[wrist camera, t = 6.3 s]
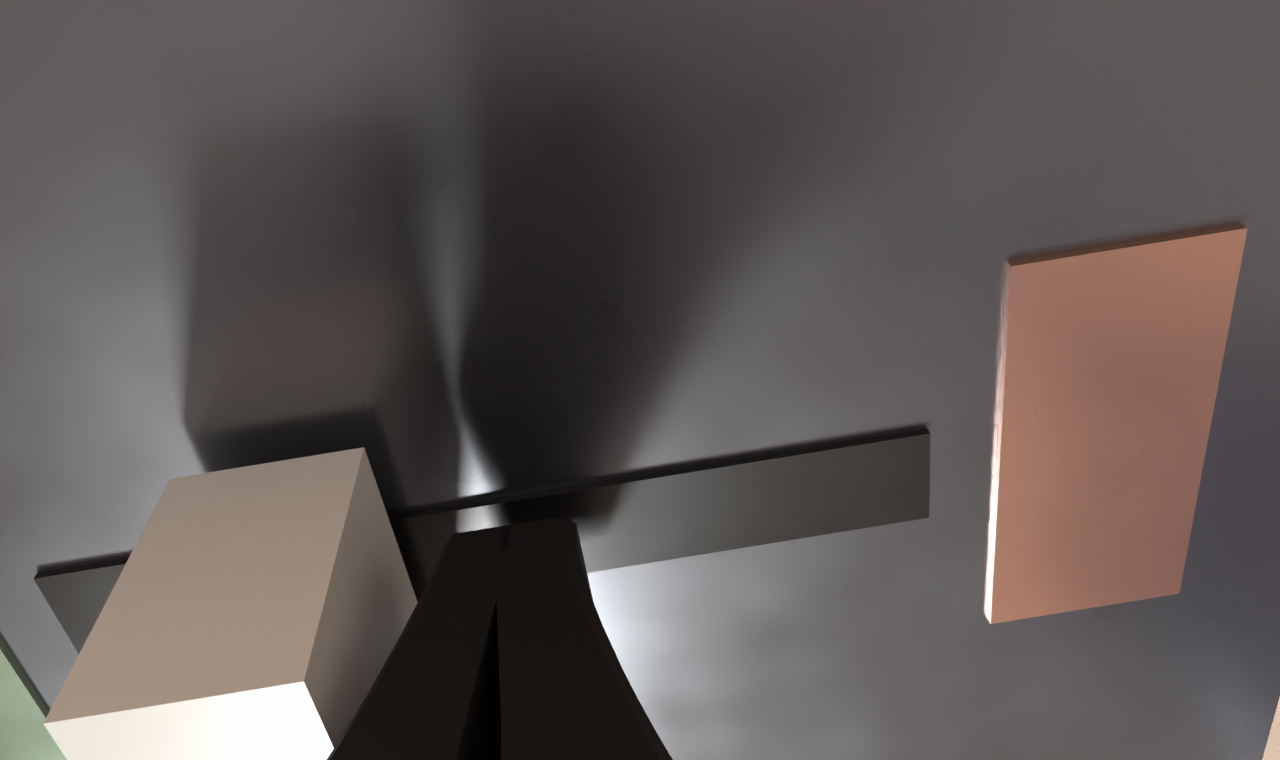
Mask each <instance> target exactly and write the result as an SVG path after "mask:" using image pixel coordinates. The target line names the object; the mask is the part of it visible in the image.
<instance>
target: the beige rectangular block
mask: <svg viewBox="0 0 1280 760" xmlns="http://www.w3.org/2000/svg"><path fill="white" fill-rule="evenodd" d="M417 603H418V602H417V599H416V596H415V594H414V591H413V588H412V585H411V582H410V579H409V576H408V573H407V570H406V567H405V565H404V562H403V559H402V556H401V553H400V550H399V547H398V544H397V541H396V538H395V535H394V533H393V530H392V527H391V524H390V521H389V518H388V515H387V512H386V509H385V506H384V504H383V501H382V498H381V495H380V492H379V489H378V486H377V483H376V480H375V477H374V475H373V472H372V469H371V466H370V463H369V460H368V457H367V454H366V451H365V448H364V447H363V448H357V449H350V450H344V451H338V452H332V453H326V454H320V455H313V456H307V457H301V458H295V459H289V460H283V461H276V462H270V463H264V464H258V465H252V466H246V467H239V468H233V469H227V470H221V471H215V472H209V473H202V474H196V475H190V476H184V477H178V478H172V479H169V481H168V483H167V485H166V487H165V489H164V491H163V493H162V495H161V497H160V498H159V500H158V502H157V504H156V506H155V508H154V510H153V512H152V514H151V516H150V518H149V520H148V522H147V524H146V526H145V528H144V529H143V531H142V533H141V535H140V537H139V539H138V541H137V543H136V545H135V547H134V549H133V551H132V553H131V555H130V557H129V559H128V560H127V562H126V564H125V566H124V568H123V570H122V572H121V574H120V576H119V578H118V580H117V582H116V584H115V586H114V588H113V590H112V591H111V593H110V595H109V597H108V599H107V601H106V603H105V605H104V607H103V609H102V611H101V613H100V615H99V617H98V619H97V621H96V622H95V624H94V626H93V628H92V630H91V632H90V634H89V636H88V638H87V640H86V642H85V644H84V646H83V648H82V650H81V652H80V653H79V655H78V657H77V659H76V661H75V663H74V665H73V667H72V669H71V671H70V673H69V675H68V677H67V679H66V681H65V683H64V684H63V686H62V688H61V690H60V692H59V694H58V696H57V698H56V700H55V702H54V704H53V706H52V708H51V710H50V712H49V714H48V715H47V717H46V719H45V721H44V723H43V724H44V726H45V727H46V729H47V730H48V732H49V733H50V735H51V736H52V738H53V739H54V741H55V742H56V744H57V745H58V747H59V748H60V750H61V751H62V753H63V754H64V756H65V757H66V759H67V760H327V758H328V757H329V755H330V754H331V752H332V751H333V749H334V747H335V746H336V744H337V743H338V741H339V739H340V738H341V736H342V735H343V733H344V732H345V730H346V728H347V727H348V725H349V724H350V722H351V721H352V719H353V717H354V716H355V714H356V713H357V711H358V709H359V708H360V706H361V704H362V703H363V701H364V699H365V698H366V696H367V694H368V693H369V691H370V689H371V687H372V685H373V684H374V682H375V680H376V678H377V677H378V675H379V673H380V671H381V669H382V668H383V666H384V664H385V662H386V661H387V659H388V657H389V655H390V653H391V652H392V650H393V648H394V646H395V645H396V643H397V641H398V639H399V637H400V635H401V634H402V632H403V630H404V628H405V626H406V624H407V622H408V620H409V618H410V616H411V614H412V612H413V611H414V609H415V607H416V605H417Z"/></svg>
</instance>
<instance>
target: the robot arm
mask: <svg viewBox="0 0 1280 760" xmlns="http://www.w3.org/2000/svg"><path fill="white" fill-rule="evenodd" d="M327 760H673V759H672V757H671V756H670V754H669V753H668V751H667V749H666V747H665V746H664V744H663V742H662V741H661V739H660V737H659V736H658V734H657V732H656V730H655V729H654V727H653V725H652V723H651V721H650V720H649V718H648V716H647V714H646V712H645V711H644V709H643V707H642V705H641V703H640V702H639V700H638V698H637V696H636V694H635V692H634V690H633V688H632V686H631V684H630V682H629V680H628V679H627V677H626V675H625V673H624V671H623V669H622V666H621V664H620V662H619V660H618V658H617V656H616V653H615V651H614V649H613V647H612V645H611V642H610V640H609V638H608V636H607V634H606V632H605V629H604V627H603V625H602V622H601V620H600V618H599V615H598V613H597V610H596V608H595V605H594V602H593V598H592V593H591V589H590V584H589V580H588V575H587V570H586V566H585V561H584V557H583V552H582V547H581V543H580V538H579V534H578V529H577V525H576V523H575V522H573V521H571V520H570V519H568V518H566V517H565V516H561V517H555V518H548V519H542V520H536V521H530V522H524V523H517V524H511V525H505V526H499V527H492V528H486V529H480V530H474V531H468V532H461V533H455V534H453V536H452V537H451V538H450V539H449V541H448V542H447V543H446V544H445V547H444V549H443V551H442V553H441V555H440V557H439V560H438V562H437V564H436V566H435V568H434V570H433V572H432V574H431V576H430V578H429V581H428V583H427V585H426V587H425V589H424V591H423V593H422V595H421V597H420V599H419V601H418V603H417V605H416V607H415V609H414V611H413V612H412V614H411V616H410V618H409V620H408V622H407V624H406V626H405V628H404V630H403V632H402V634H401V635H400V637H399V639H398V641H397V643H396V645H395V646H394V648H393V650H392V652H391V653H390V655H389V657H388V659H387V661H386V662H385V664H384V666H383V668H382V669H381V671H380V673H379V675H378V677H377V678H376V680H375V682H374V684H373V685H372V687H371V689H370V691H369V693H368V694H367V696H366V698H365V699H364V701H363V703H362V704H361V706H360V708H359V709H358V711H357V713H356V714H355V716H354V717H353V719H352V721H351V722H350V724H349V725H348V727H347V728H346V730H345V732H344V733H343V735H342V736H341V738H340V739H339V741H338V743H337V744H336V746H335V747H334V749H333V751H332V752H331V754H330V755H329V757H328V758H327Z"/></svg>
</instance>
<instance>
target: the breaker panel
mask: <svg viewBox="0 0 1280 760" xmlns="http://www.w3.org/2000/svg"><path fill="white" fill-rule="evenodd" d="M363 447H364V448H365V451H366V454H367V457H368V460H369V463H370V466H371V469H372V472H373V475H374V477H375V480H376V483H377V486H378V489H379V492H380V495H381V498H382V501H383V504H384V506H385V509H386V512H387V515H388V518H389V521H390V524H391V527H392V530H393V533H394V535H395V538H396V541H397V544H398V547H399V550H400V553H401V556H402V559H403V562H404V565H405V567H406V570H407V573H408V576H409V579H410V582H411V585H412V588H413V591H414V594H415V596H416V599H417V602H418V601H419V599H420V597H421V595H422V593H423V591H424V589H425V587H426V585H427V583H428V581H429V578H430V576H431V574H432V572H433V570H434V568H435V566H436V564H437V562H438V560H439V557H440V555H441V553H442V551H443V549H444V547H445V544H446V543H447V542H448V541H449V539H450V538H451V537H452V536H453V534H455V533H461V532H468V531H474V530H480V529H486V528H492V527H499V526H505V525H511V524H517V523H524V522H530V521H536V520H542V519H548V518H555V517H561V516H565V517H566V518H568V519H570V520H571V521H573V522H575V523H576V525H577V529H578V534H579V538H580V543H581V547H582V552H583V557H584V561H585V566H586V570H587V575H588V580H589V584H590V589H591V593H592V598H593V602H594V605H595V608H596V610H597V613H598V615H599V618H600V620H601V622H602V625H603V627H604V629H605V632H606V634H607V636H608V638H609V640H610V642H611V645H612V647H613V649H614V651H615V653H616V656H617V658H618V660H619V662H620V664H621V666H622V669H623V671H624V673H625V675H626V677H627V679H628V680H629V682H630V684H631V686H632V688H633V690H634V692H635V694H636V696H637V698H638V700H639V702H640V703H641V705H642V707H643V709H644V711H645V712H646V714H647V716H648V718H649V720H650V721H651V723H652V725H653V727H654V729H655V730H656V732H657V734H658V736H659V737H660V739H661V741H662V742H663V744H664V746H665V747H666V749H667V751H668V753H669V754H670V756H671V757H672V759H673V760H1262V758H1263V754H1264V751H1265V747H1266V743H1267V740H1268V736H1269V732H1270V729H1271V725H1272V722H1273V718H1274V714H1275V711H1276V707H1277V703H1278V700H1279V696H1280V0H0V760H67V759H66V757H65V756H64V754H63V753H62V751H61V750H60V748H59V747H58V745H57V744H56V742H55V741H54V739H53V738H52V736H51V735H50V733H49V732H48V730H47V729H46V727H45V726H44V724H43V723H44V721H45V719H46V717H47V715H48V714H49V712H50V710H51V708H52V706H53V704H54V702H55V700H56V698H57V696H58V694H59V692H60V690H61V688H62V686H63V684H64V683H65V681H66V679H67V677H68V675H69V673H70V671H71V669H72V667H73V665H74V663H75V661H76V659H77V657H78V655H79V653H80V652H81V650H82V648H83V646H84V644H85V642H86V640H87V638H88V636H89V634H90V632H91V630H92V628H93V626H94V624H95V622H96V621H97V619H98V617H99V615H100V613H101V611H102V609H103V607H104V605H105V603H106V601H107V599H108V597H109V595H110V593H111V591H112V590H113V588H114V586H115V584H116V582H117V580H118V578H119V576H120V574H121V572H122V570H123V568H124V566H125V564H126V562H127V560H128V559H129V557H130V555H131V553H132V551H133V549H134V547H135V545H136V543H137V541H138V539H139V537H140V535H141V533H142V531H143V529H144V528H145V526H146V524H147V522H148V520H149V518H150V516H151V514H152V512H153V510H154V508H155V506H156V504H157V502H158V500H159V498H160V497H161V495H162V493H163V491H164V489H165V487H166V485H167V483H168V481H169V479H172V478H178V477H184V476H190V475H196V474H202V473H209V472H215V471H221V470H227V469H233V468H239V467H246V466H252V465H258V464H264V463H270V462H276V461H283V460H289V459H295V458H301V457H307V456H313V455H320V454H326V453H332V452H338V451H344V450H350V449H357V448H363Z"/></svg>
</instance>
